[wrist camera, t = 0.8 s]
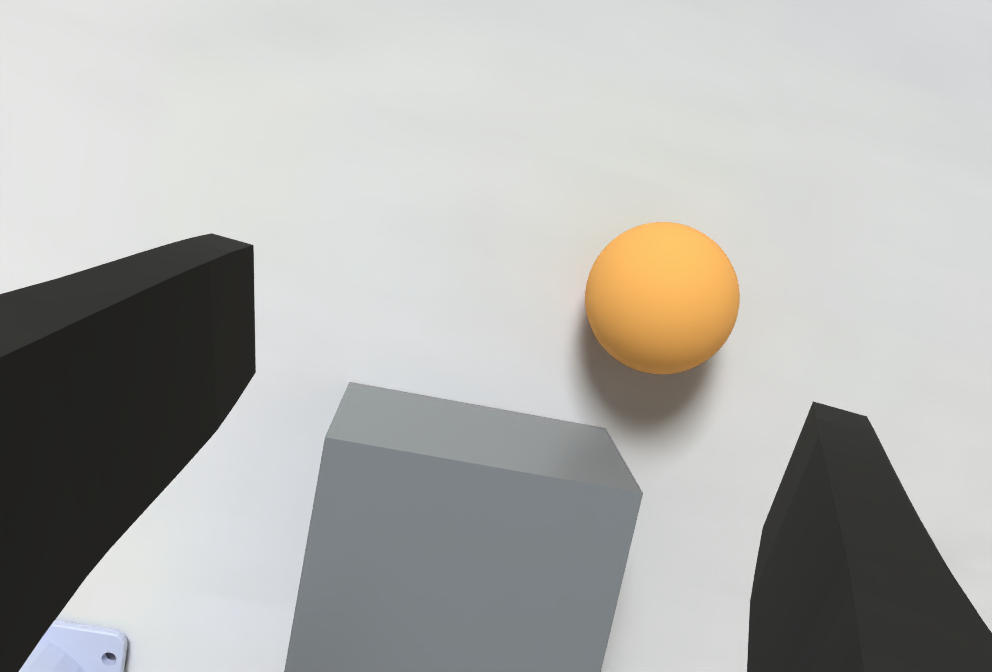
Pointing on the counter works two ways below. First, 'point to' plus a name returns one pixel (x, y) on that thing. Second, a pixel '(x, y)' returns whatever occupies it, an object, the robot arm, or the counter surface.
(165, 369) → the robot arm
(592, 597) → the grey blocky piece
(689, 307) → the ball
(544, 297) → the counter surface
